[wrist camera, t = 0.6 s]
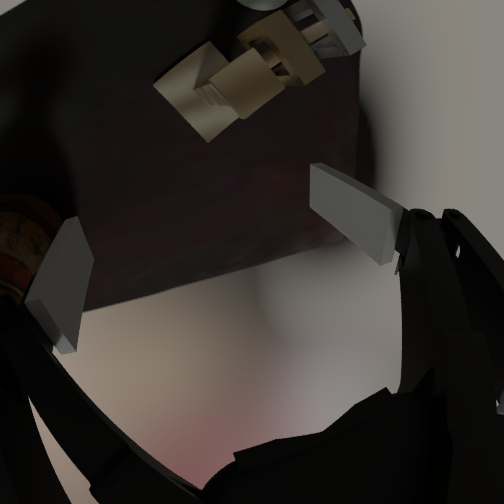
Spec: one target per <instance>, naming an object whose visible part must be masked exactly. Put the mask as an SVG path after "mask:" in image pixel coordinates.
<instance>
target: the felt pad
mask: <svg viewBox="0 0 504 504" xmlns="http://www.w3.org/2000/svg"><path fill="white" fill-rule="evenodd" d="M236 1H238V2H239V3H240V4H242V5H244V6H246V7H248V8H251V9H255V10H262V11H266V10H273V9H276V8H278V7H280V6H282V5H283V4H284V3H286V2H287V0H236Z"/></svg>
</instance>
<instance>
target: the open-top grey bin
mask: <svg viewBox="0 0 504 504" xmlns="http://www.w3.org/2000/svg"><path fill="white" fill-rule="evenodd" d="M282 11H283V13H284V14H285V15H286V16H287V18H288V19H289V20H290V21H291V23H292V24H293V23H295V22H297V21H299V20H301V19H303V18H305V17H307V16H309V15H311V14H313V13H314V14H315V16H316V17H317V18H318V20H319V21H320V22H321V24H322V25H323V27H324V28H325V30H326V31H327V32H328V34H329V35H328V36H324V37H322V38H320V39H318V40H316V41H315V42H313V43H311V44H310V45H308V46H309V47H310V48H311V50H312V51H313V53H314V54H315V56H316V57H317V59H322V58H329V57H338V56H348V55H352V54H353V53H355V52H356V51H358V50H360V49H361V48H363V47H365V46H366V43H365V42H364V40H363V38H362V36H361V35H360V33H359V31H358V30H357V28H356V27H355V25H354V23H353V22H352V20H351V19H350V17H349V16H348V14H347V13H346V11H345V10H344V8H343V7H342V6H341V4H340V3H339V1H338V0H301V1H299V2H297V3H295V4H293V5H291V6H289V7H287V8H286V9H284V10H282Z"/></svg>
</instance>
